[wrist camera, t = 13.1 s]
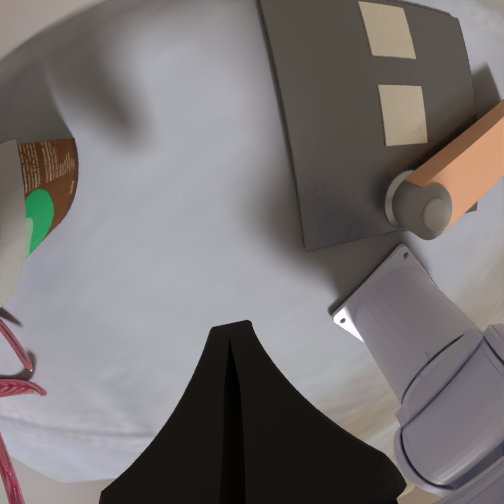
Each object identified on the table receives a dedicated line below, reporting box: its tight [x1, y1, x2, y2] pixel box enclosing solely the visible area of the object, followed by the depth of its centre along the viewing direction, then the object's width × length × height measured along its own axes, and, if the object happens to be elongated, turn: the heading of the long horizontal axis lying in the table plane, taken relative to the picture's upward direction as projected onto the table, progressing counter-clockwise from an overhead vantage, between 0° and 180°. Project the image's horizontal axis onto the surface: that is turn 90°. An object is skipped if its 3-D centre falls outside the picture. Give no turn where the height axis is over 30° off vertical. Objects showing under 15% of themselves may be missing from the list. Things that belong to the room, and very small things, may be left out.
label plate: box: [258, 0, 477, 251], centre depth 16 cm, size 16×17×1 cm
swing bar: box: [392, 99, 504, 240], centre depth 15 cm, size 17×4×3 cm, turn 126°
